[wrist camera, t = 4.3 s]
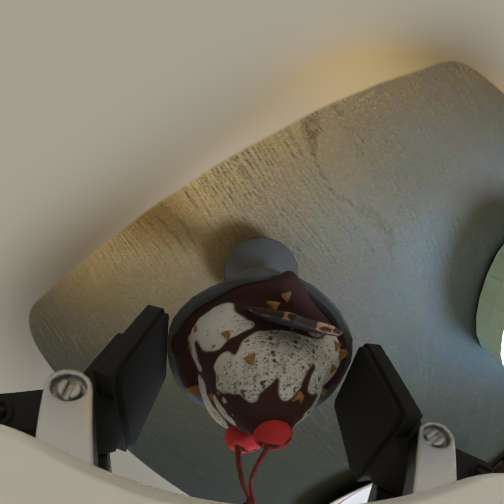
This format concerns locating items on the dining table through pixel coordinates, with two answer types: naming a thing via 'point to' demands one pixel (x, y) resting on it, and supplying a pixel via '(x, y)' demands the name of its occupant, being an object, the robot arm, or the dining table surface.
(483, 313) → the bowl
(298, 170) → the dining table surface
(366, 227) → the dining table surface
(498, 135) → the dining table surface
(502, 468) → the coffee grinder
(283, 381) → the sundae
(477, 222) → the dining table surface
